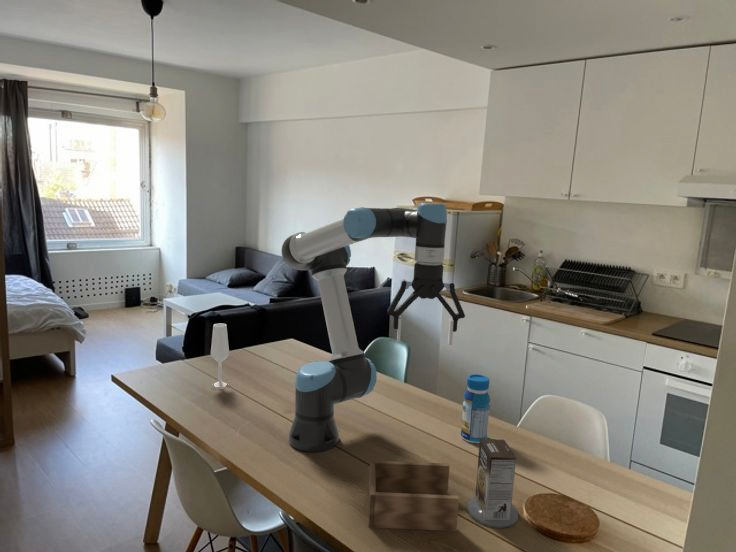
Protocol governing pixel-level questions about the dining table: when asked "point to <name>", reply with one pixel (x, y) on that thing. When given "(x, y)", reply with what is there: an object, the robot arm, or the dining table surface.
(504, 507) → the coffee box
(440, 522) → the walnut u-shaped stand
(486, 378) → the beverage bottle
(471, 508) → the slate coaster
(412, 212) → the robot arm
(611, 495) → the dining table surface
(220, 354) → the champagne flute
